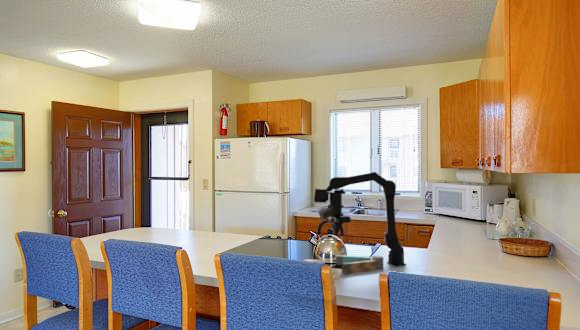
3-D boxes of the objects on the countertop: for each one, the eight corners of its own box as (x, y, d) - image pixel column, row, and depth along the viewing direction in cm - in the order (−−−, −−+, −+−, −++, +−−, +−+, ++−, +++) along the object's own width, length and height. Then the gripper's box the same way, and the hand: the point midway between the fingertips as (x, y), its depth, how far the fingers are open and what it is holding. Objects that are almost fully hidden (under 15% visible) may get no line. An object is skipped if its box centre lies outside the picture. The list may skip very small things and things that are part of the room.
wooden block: (379, 266, 176) (379, 255, 176) (386, 269, 170) (386, 258, 170) (338, 271, 168) (338, 260, 168) (345, 274, 162) (344, 263, 162)
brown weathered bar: (371, 265, 176) (371, 256, 176) (371, 266, 174) (370, 258, 173) (336, 263, 180) (336, 254, 180) (336, 264, 177) (336, 256, 177)
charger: (300, 279, 156) (303, 269, 171) (322, 280, 155) (324, 270, 170) (300, 268, 156) (303, 259, 171) (322, 269, 155) (324, 259, 170)
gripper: (312, 201, 190) (312, 232, 190) (330, 205, 172) (330, 239, 172) (332, 200, 194) (332, 231, 194) (351, 204, 176) (351, 238, 177)
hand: (335, 234), depth 184 cm, fingers closed
